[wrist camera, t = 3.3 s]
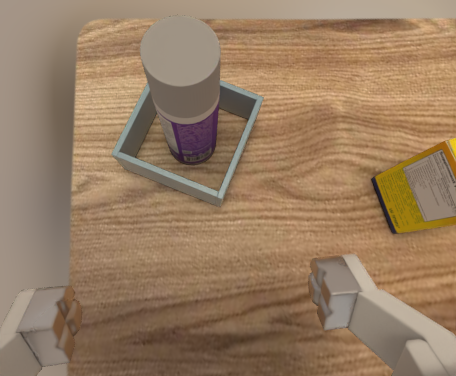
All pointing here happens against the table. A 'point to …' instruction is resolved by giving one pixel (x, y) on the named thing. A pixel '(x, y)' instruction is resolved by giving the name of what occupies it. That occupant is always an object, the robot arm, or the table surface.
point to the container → (184, 84)
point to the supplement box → (420, 190)
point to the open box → (127, 150)
